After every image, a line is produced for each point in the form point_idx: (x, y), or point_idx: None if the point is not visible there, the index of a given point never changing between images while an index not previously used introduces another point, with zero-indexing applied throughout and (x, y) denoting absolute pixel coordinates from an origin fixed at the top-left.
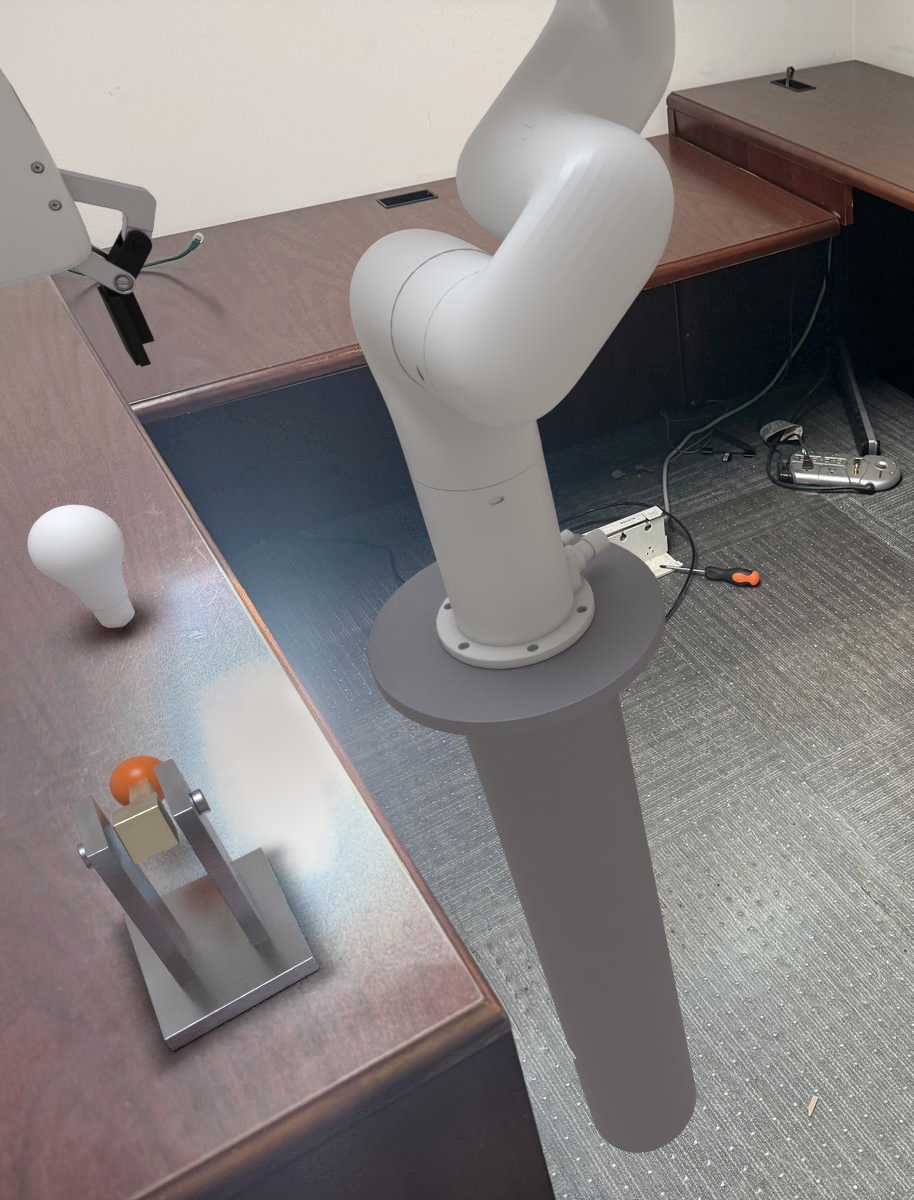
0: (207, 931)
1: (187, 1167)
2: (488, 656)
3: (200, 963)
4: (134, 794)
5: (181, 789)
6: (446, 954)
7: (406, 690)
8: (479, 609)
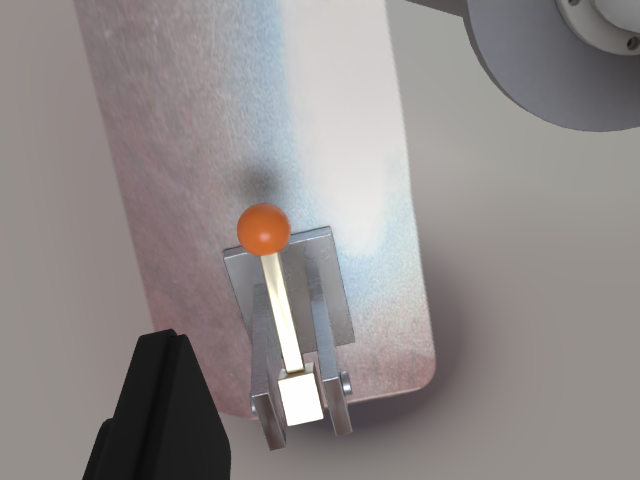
0: None
1: None
2: (588, 33)
3: None
4: (275, 301)
5: (344, 412)
6: (431, 351)
7: (489, 27)
8: (632, 19)
